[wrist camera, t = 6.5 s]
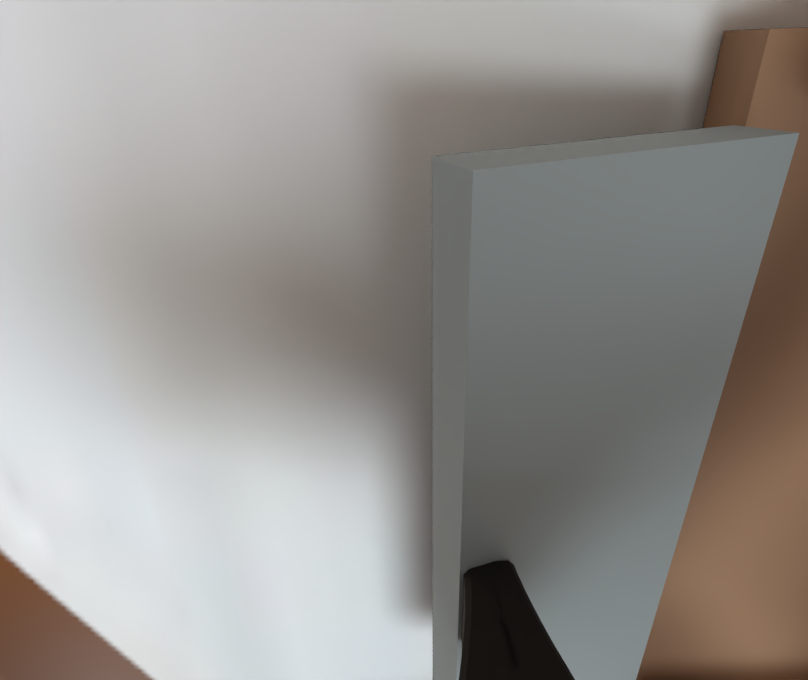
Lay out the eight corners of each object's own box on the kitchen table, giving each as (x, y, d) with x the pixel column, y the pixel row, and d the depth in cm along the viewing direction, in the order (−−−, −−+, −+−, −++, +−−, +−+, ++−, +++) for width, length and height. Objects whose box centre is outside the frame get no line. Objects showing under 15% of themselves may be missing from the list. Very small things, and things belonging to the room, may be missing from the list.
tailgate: (799, 132, 9) (472, 170, 7) (624, 716, 17) (452, 811, 15) (697, 120, 10) (409, 148, 8) (582, 657, 18) (421, 736, 16)
